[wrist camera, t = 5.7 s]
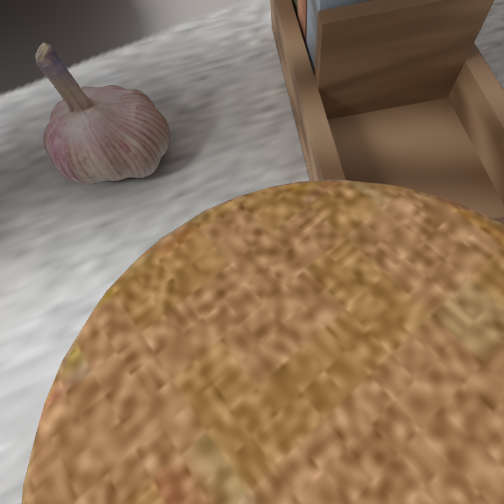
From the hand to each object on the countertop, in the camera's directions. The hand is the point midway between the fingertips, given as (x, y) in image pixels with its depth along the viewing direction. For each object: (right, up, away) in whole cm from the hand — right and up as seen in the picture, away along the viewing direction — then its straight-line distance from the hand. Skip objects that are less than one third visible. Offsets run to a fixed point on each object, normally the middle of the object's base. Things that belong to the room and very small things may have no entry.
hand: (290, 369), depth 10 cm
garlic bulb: (-10, +10, +14) cm, 20 cm away
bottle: (+1, -5, +6) cm, 8 cm away
